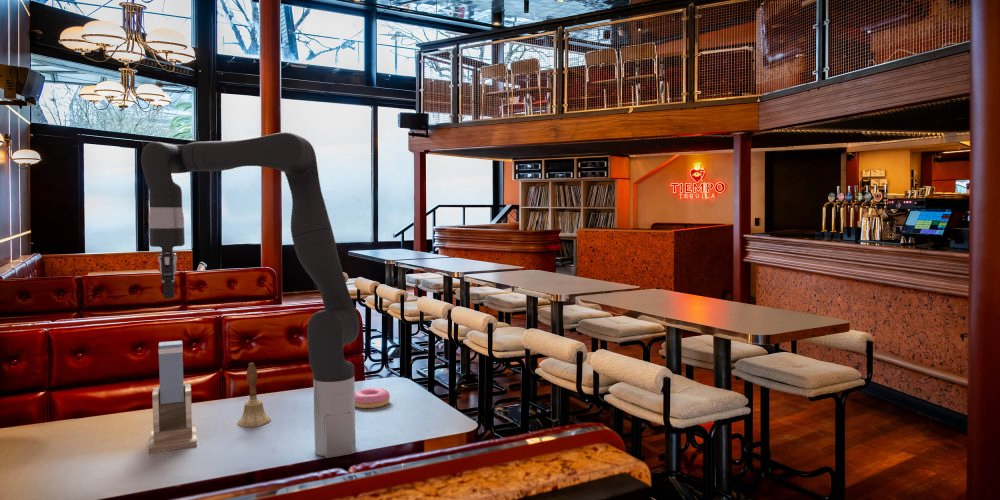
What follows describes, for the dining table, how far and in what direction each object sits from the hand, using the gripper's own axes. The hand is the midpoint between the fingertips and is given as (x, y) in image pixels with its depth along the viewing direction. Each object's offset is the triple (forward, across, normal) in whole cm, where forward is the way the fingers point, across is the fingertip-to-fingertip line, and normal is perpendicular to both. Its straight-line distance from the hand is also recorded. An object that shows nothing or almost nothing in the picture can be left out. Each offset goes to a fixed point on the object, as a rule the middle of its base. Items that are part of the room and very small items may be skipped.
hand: (169, 296), depth 154 cm
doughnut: (+36, +8, -51) cm, 63 cm away
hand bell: (+36, +6, -19) cm, 41 cm away
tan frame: (+35, 0, 0) cm, 35 cm away
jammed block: (+25, 0, 0) cm, 25 cm away
